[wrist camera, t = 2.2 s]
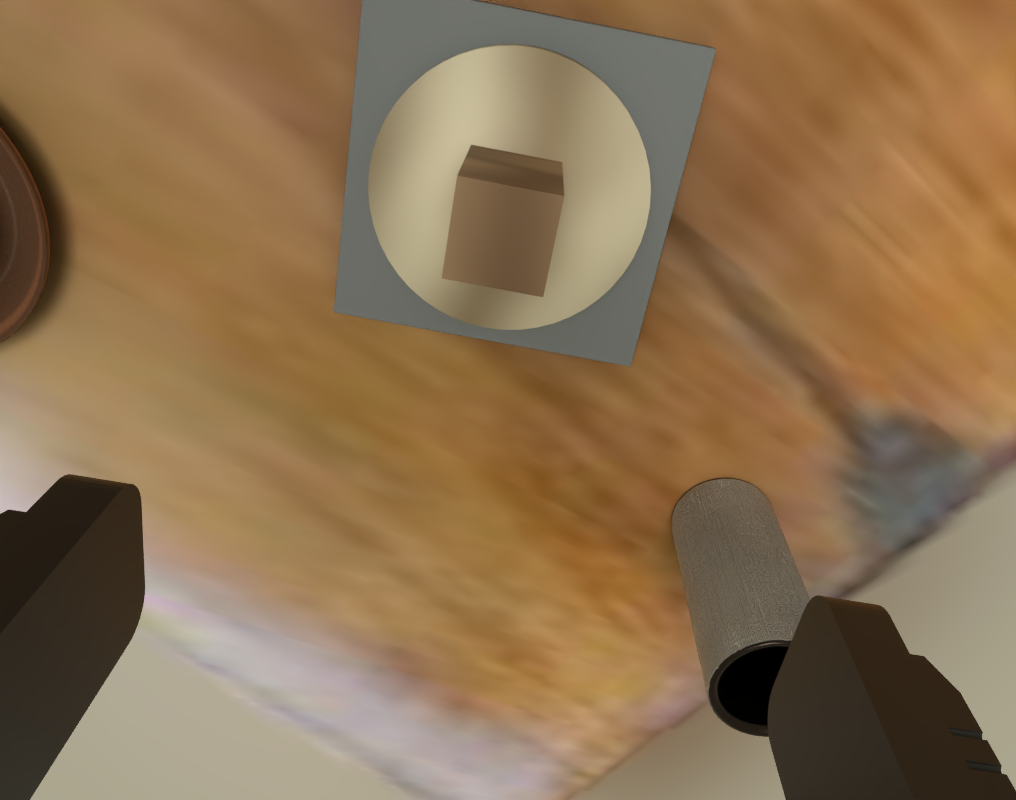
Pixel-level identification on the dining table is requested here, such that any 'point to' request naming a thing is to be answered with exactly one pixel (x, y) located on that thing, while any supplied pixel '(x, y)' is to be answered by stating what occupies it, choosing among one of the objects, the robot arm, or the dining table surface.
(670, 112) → the mat
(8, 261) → the cup and saucer
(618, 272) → the lid
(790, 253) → the dining table surface
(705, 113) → the dining table surface
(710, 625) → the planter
